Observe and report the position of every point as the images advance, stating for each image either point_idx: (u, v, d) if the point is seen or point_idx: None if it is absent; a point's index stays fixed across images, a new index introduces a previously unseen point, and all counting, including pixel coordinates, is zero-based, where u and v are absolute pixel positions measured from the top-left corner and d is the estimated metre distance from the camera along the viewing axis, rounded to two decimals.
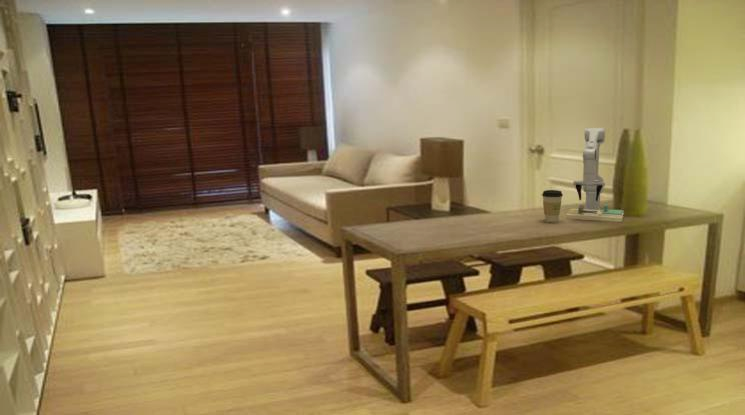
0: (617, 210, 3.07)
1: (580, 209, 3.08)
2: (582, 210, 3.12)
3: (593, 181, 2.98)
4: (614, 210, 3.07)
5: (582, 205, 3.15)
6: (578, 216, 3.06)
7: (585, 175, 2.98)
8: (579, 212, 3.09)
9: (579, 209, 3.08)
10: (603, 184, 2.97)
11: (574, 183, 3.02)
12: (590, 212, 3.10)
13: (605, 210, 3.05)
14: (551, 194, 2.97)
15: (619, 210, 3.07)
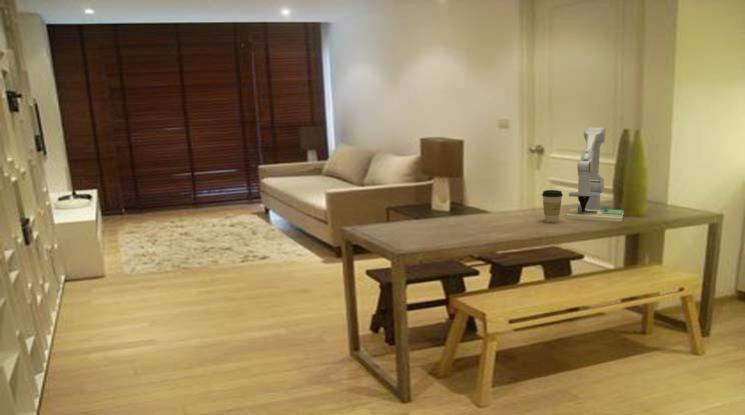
0: (617, 210, 3.07)
1: (579, 209, 3.08)
2: (581, 210, 3.12)
3: (588, 192, 3.04)
4: (614, 210, 3.07)
5: None
6: (578, 216, 3.06)
7: (580, 187, 3.05)
8: (578, 212, 3.09)
9: (578, 209, 3.08)
10: (598, 195, 3.03)
11: (569, 194, 3.09)
12: (589, 212, 3.10)
13: (605, 210, 3.05)
14: (551, 194, 2.97)
15: (619, 210, 3.07)
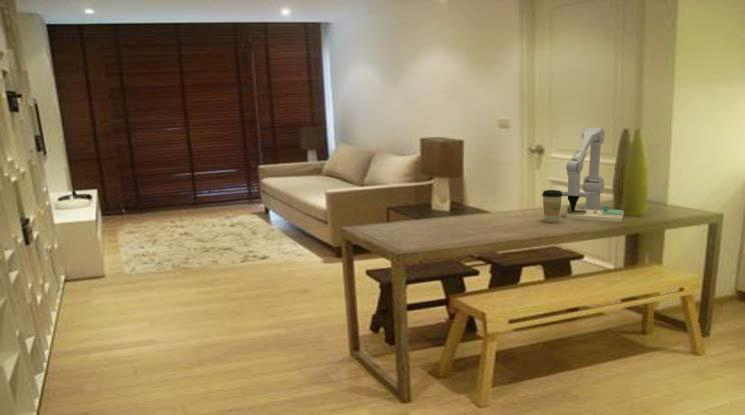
0: (617, 210, 3.07)
1: (569, 208, 3.10)
2: None
3: (577, 192, 3.06)
4: (614, 210, 3.07)
5: None
6: (578, 216, 3.06)
7: (570, 186, 3.07)
8: (568, 211, 3.11)
9: (568, 208, 3.10)
10: (587, 195, 3.05)
11: None
12: (579, 211, 3.12)
13: (605, 210, 3.05)
14: (551, 194, 2.97)
15: (619, 210, 3.07)
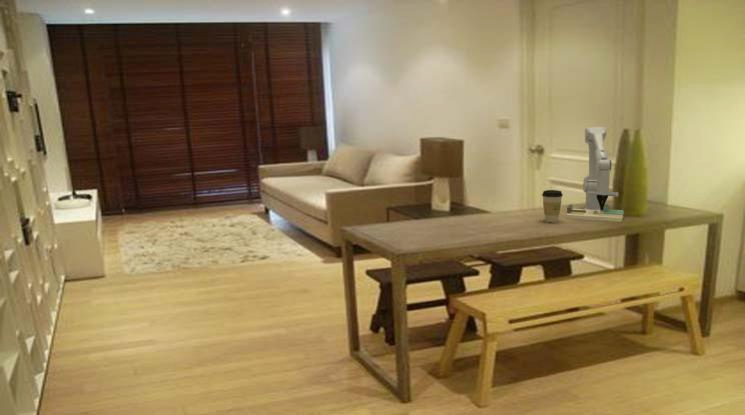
0: (618, 210, 3.07)
1: (569, 208, 3.10)
2: (571, 209, 3.14)
3: (607, 191, 3.03)
4: (615, 210, 3.07)
5: (571, 204, 3.17)
6: (578, 216, 3.06)
7: (599, 185, 3.03)
8: (568, 211, 3.11)
9: (568, 208, 3.11)
10: (616, 194, 3.02)
11: (588, 193, 3.08)
12: (579, 211, 3.12)
13: (606, 210, 3.04)
14: (551, 194, 2.97)
15: (620, 210, 3.07)
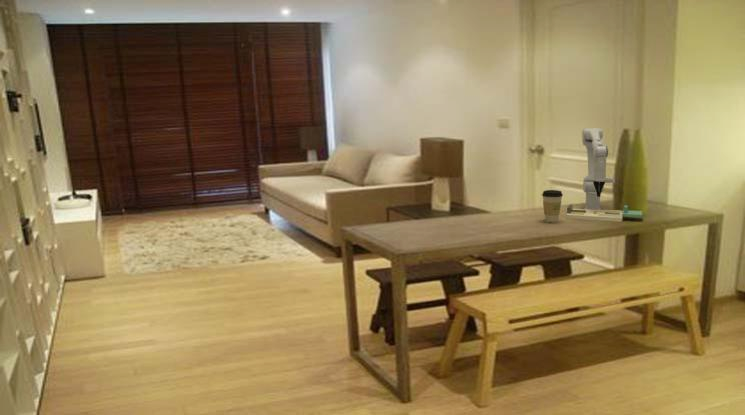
0: (637, 211, 3.03)
1: (569, 208, 3.10)
2: (571, 209, 3.14)
3: (603, 178, 3.07)
4: (634, 211, 3.04)
5: (571, 204, 3.17)
6: (578, 216, 3.06)
7: (596, 172, 3.08)
8: (568, 211, 3.11)
9: (568, 208, 3.11)
10: (613, 181, 3.06)
11: (585, 180, 3.12)
12: (579, 211, 3.12)
13: (625, 211, 3.01)
14: (551, 194, 2.97)
15: (639, 211, 3.03)
